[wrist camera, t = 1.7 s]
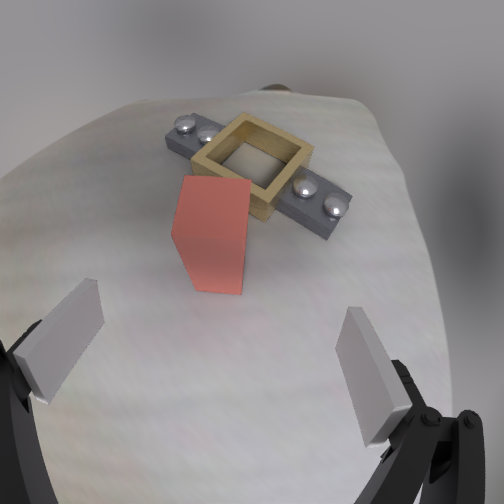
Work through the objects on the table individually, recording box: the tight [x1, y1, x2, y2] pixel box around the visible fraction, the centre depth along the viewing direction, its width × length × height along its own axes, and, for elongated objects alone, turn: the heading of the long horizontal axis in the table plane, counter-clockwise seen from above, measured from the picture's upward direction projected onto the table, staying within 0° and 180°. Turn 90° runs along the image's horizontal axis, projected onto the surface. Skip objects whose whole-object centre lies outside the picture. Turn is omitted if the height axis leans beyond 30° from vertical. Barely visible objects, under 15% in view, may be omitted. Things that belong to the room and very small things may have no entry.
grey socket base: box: [165, 112, 353, 240], centre depth 29 cm, size 21×9×4 cm, turn 56°
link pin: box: [171, 175, 251, 295], centre depth 21 cm, size 4×4×11 cm
